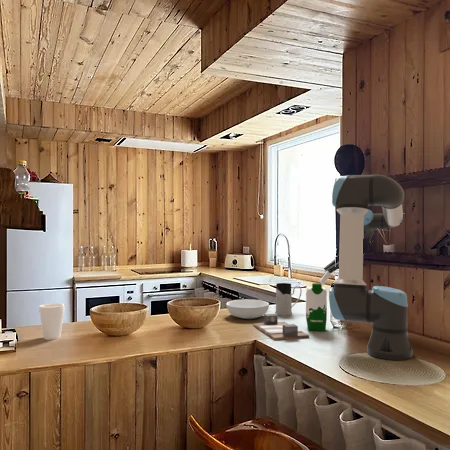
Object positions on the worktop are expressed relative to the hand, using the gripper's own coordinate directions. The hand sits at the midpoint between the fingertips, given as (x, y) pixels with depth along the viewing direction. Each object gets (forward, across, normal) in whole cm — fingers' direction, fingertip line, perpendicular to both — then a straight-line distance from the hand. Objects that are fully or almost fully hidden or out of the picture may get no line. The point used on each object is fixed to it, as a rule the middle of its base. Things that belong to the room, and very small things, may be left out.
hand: (331, 285), depth 200 cm
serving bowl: (+29, +35, +2) cm, 45 cm away
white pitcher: (+12, +32, -14) cm, 37 cm away
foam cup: (+92, +42, +66) cm, 120 cm away
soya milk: (+20, 0, -6) cm, 21 cm away
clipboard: (+31, +4, +5) cm, 32 cm away
